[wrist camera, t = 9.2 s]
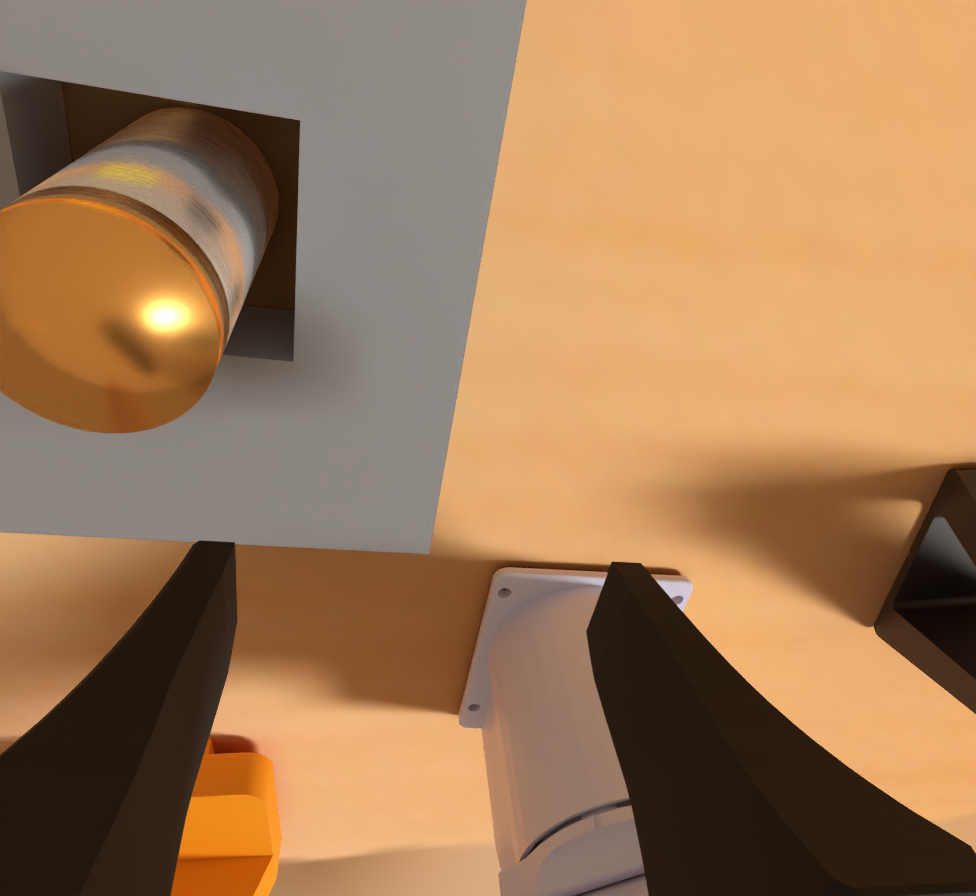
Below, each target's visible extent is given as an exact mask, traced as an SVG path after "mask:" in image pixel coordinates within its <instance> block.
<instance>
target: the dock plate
mask: <svg viewBox="0 0 976 896" xmlns="http://www.w3.org/2000/svg"><path fill="white" fill-rule="evenodd" d="M525 6H526V0H0V210H1V209H3V208H4V207H6V206H7V205H9V204H10V203H12V202H13V201H15V200H16V199H18V198H19V197H21V196H22V195H24V194H25V193H27V192H28V191H30V190H31V189H33V188H34V187H36V186H37V185H39V184H40V183H42V182H44V181H45V180H47V179H48V178H50V177H51V176H53V175H54V174H56V173H57V172H59V171H60V170H62V169H63V168H65V167H66V166H68V165H69V164H71V163H72V155H71V148H70V141H69V134H68V127H67V120H66V113H65V106H64V99H63V91H62V84H61V81H64V82H70V83H76V84H82V85H88V86H95V87H101V88H107V89H113V90H119V91H125V92H131V93H137V94H143V95H149V96H155V97H161V98H167V99H173V100H179V101H185V102H192V103H198V104H204V105H210V106H216V107H222V108H228V109H234V110H240V111H246V112H252V113H258V114H264V115H270V116H276V117H283V118H289V119H295V120H300V143H299V180H298V216H297V252H296V288H295V311H290V310H281V309H272V308H264V307H255V306H246V305H243V306H242V308H241V311H240V313H239V316H238V318H237V320H236V323H235V325H234V328H233V330H232V333H231V335H230V337H229V340H228V342H227V345H226V347H225V350H224V352H223V355H222V357H221V359H220V362H219V364H218V367H217V369H216V372H215V374H214V376H213V379H212V381H211V383H210V385H209V387H208V388H207V390H206V392H205V393H204V395H203V396H202V397H201V398H200V400H199V401H198V402H197V403H196V404H195V405H194V406H193V407H192V408H191V409H190V410H189V411H187V412H186V413H184V414H183V415H181V416H180V417H178V418H177V419H175V420H173V421H171V422H169V423H167V424H165V425H162V426H159V427H156V428H153V429H149V430H145V431H140V432H133V433H122V434H117V433H98V432H89V431H85V430H80V429H75V428H71V427H68V426H65V425H61V424H58V423H55V422H53V421H51V420H48V419H46V418H43V417H41V416H39V415H37V414H35V413H33V412H31V411H29V410H27V409H25V408H24V407H22V406H21V405H19V404H17V403H16V402H14V401H13V400H11V399H10V398H8V397H7V396H6V395H5V394H3V393H2V392H1V391H0V532H5V533H25V534H44V535H64V536H83V537H103V538H123V539H142V540H162V541H181V542H198V541H199V540H202V541H221V542H235V544H240V545H259V546H279V547H298V548H318V549H337V550H357V551H376V552H396V553H415V554H429V552H430V546H431V540H432V535H433V529H434V523H435V518H436V512H437V506H438V501H439V495H440V489H441V484H442V478H443V472H444V467H445V461H446V455H447V450H448V444H449V438H450V432H451V427H452V421H453V415H454V410H455V404H456V398H457V393H458V387H459V381H460V376H461V370H462V364H463V359H464V353H465V347H466V342H467V336H468V330H469V324H470V319H471V313H472V307H473V302H474V296H475V290H476V285H477V279H478V273H479V268H480V262H481V256H482V251H483V245H484V239H485V234H486V228H487V222H488V216H489V211H490V205H491V199H492V194H493V188H494V182H495V177H496V171H497V165H498V160H499V154H500V148H501V143H502V137H503V131H504V126H505V120H506V114H507V108H508V103H509V97H510V91H511V86H512V80H513V74H514V69H515V63H516V57H517V52H518V46H519V40H520V35H521V29H522V23H523V18H524V12H525Z"/></svg>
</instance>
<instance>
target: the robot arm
mask: <svg viewBox="0 0 976 896" xmlns="http://www.w3.org/2000/svg"><path fill="white" fill-rule="evenodd" d="M503 588H508V589H506V590H501V589H503ZM692 591H693V586H692V583H691V581H690V579H689V578H688V577H686V576H678V575H658V574H650V573H649V572H648V571H647V570H646V569H645V568H644V566H643V565H642V564H641V563H626V562H612V563H611V566H610V568H609V571H608V572H596V571H575V570H555V569H534V568H514V567H506V568H501V569H499V570H498V571H496V572H495V574H494V575H493V579H492V583H491V587H490V591H489V595H488V599H487V603H486V607H485V611H484V615H483V619H482V623H481V627H480V631H479V635H478V639H477V643H476V647H475V651H474V655H473V659H472V663H471V667H470V671H469V675H468V679H467V683H466V687H465V691H464V695H463V699H462V703H461V707H460V711H459V724H460V725H461V726H463V727H465V728H482V736H483V745H484V753H485V761H486V770H487V778H488V786H489V795H490V803H491V811H492V820H493V828H494V836H495V845H496V851H497V856H498V860H499V864H500V867H501V870H502V871H500V872H499V883H500V892H501V896H976V853H975V852H974V850H973V849H972V847H971V846H970V845H968V844H966V843H965V842H963V841H961V840H960V839H958V838H956V837H955V836H953V835H951V834H950V833H948V832H946V831H945V830H943V829H941V828H940V827H938V826H936V825H935V824H933V823H932V822H930V821H928V820H927V819H925V818H923V817H922V816H920V815H918V814H917V813H915V812H913V811H912V810H910V809H909V808H907V807H905V806H904V805H902V804H901V803H899V802H898V801H896V800H895V799H893V798H892V797H890V796H889V795H888V794H886V793H885V792H883V791H882V790H880V789H879V788H877V787H876V786H874V785H873V784H871V783H870V782H868V781H867V780H866V779H864V778H863V777H861V776H860V775H859V774H857V773H856V772H854V771H853V770H852V769H850V768H849V767H847V766H846V765H845V764H843V763H842V762H841V761H840V760H838V759H837V758H836V757H834V756H833V755H832V754H831V753H829V752H828V751H827V750H825V749H824V748H823V747H821V746H820V745H819V744H818V743H816V742H815V741H814V740H812V739H811V738H810V737H809V736H808V735H806V734H805V733H804V732H803V731H802V730H800V729H799V728H798V727H797V726H796V725H794V724H793V723H792V722H791V721H790V720H789V719H788V718H786V717H785V716H784V715H783V714H782V713H781V712H780V711H778V710H777V709H776V708H775V707H774V706H773V705H772V704H771V703H769V702H768V701H767V700H766V699H765V698H764V697H763V696H762V695H761V694H760V693H759V692H758V691H757V690H755V689H754V688H753V687H752V686H751V685H750V684H749V683H748V682H747V681H746V680H745V679H744V678H743V677H742V676H741V675H740V674H739V673H738V672H737V671H736V670H735V669H734V668H733V667H732V666H731V665H730V664H729V663H728V662H727V660H726V659H725V658H724V657H723V656H722V655H721V654H720V653H719V652H718V651H717V650H716V649H715V648H714V647H713V646H712V644H711V643H710V642H709V641H708V640H707V639H706V638H705V637H704V636H703V635H702V633H701V632H700V631H699V630H698V629H697V628H696V627H695V626H694V624H693V623H692V622H691V621H690V620H689V619H688V618H687V616H686V615H685V614H684V613H683V610H684V608H685V606H686V603H687V601H688V599H689V597H690V595H691V593H692ZM675 596H676V597H675ZM236 624H237V596H236V560H235V542H221V541H202V540H199V541H198V542H196V543H195V544H194V545H193V546H192V547H191V549H190V550H189V552H188V554H187V555H186V557H185V558H184V560H183V561H182V562H181V564H180V565H179V567H178V568H177V570H176V571H175V572H174V574H173V575H172V576H171V578H170V579H169V581H168V582H167V583H166V585H165V586H164V587H163V588H162V590H161V591H160V592H159V594H158V595H157V596H156V598H155V599H154V600H153V601H152V603H151V604H150V605H149V606H148V607H147V609H146V610H145V611H144V612H143V613H142V615H141V616H140V617H139V618H138V620H137V621H136V622H135V623H134V624H133V626H132V627H131V628H130V629H129V630H128V632H127V633H126V634H125V635H124V636H123V637H122V638H121V639H120V641H119V642H118V643H117V644H116V645H115V646H114V647H113V648H112V649H111V650H110V651H109V653H108V654H107V655H106V656H105V657H104V658H103V659H102V660H101V661H100V662H99V663H98V665H97V666H96V667H95V668H94V669H93V670H92V671H91V672H90V673H89V674H88V675H87V676H86V677H85V678H84V679H83V680H82V681H81V682H80V683H79V684H78V685H77V686H76V687H75V688H74V689H73V690H72V691H71V692H70V693H69V694H68V695H67V696H66V697H65V698H64V699H63V700H62V701H61V702H60V703H59V704H57V705H56V706H55V707H54V708H53V709H52V710H51V711H50V712H49V713H48V714H47V715H46V716H45V717H44V718H42V719H41V720H40V721H39V722H38V723H37V724H36V725H34V726H33V727H32V728H31V729H30V730H29V731H28V732H26V733H25V734H24V735H23V736H22V737H21V738H20V739H18V740H17V741H16V742H15V743H14V744H13V745H11V746H10V747H9V748H8V749H7V750H6V751H4V752H3V753H2V754H1V755H0V896H171V891H172V886H173V881H174V875H175V870H176V865H177V860H178V855H179V850H180V845H181V840H182V835H183V830H184V825H185V820H186V816H187V812H188V808H189V804H190V800H191V796H192V792H193V789H194V785H195V782H196V779H197V775H198V772H199V769H200V765H201V762H202V759H203V755H204V752H205V749H206V745H207V742H208V739H209V735H210V732H211V729H212V725H213V722H214V718H215V715H216V712H217V708H218V705H219V702H220V698H221V695H222V691H223V688H224V685H225V681H226V678H227V674H228V669H229V664H230V659H231V653H232V648H233V642H234V636H235V630H236Z"/></svg>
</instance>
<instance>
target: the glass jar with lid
mask: <svg viewBox="0 0 976 896" xmlns="http://www.w3.org/2000/svg"><path fill="white" fill-rule="evenodd" d="M278 205H279V202H278V191H277V186H276V182H275V179H274V176H273V173H272V171H271V169H270V166H269V164H268V162H267V161H266V159H265V157H264V156H263V154H262V152H261V151H260V150H259V149H258V147H257V146H256V145H255V143H254V142H253V141H252V140H251V139H250V138H249V137H248V136H247V135H246V134H245V133H243V132H242V131H241V130H240V129H239V128H237V127H236V126H235V125H233V124H231V123H230V122H228V121H227V120H225V119H223V118H221V117H219V116H217V115H215V114H212V113H209V112H206V111H203V110H199V109H194V108H187V107H169V108H164V109H159V110H156V111H153V112H150V113H147V114H146V115H144V116H142V117H140V118H139V119H137V120H136V121H134V122H133V123H131V124H130V125H128V126H127V127H125V128H124V129H122V130H120V131H119V132H117V133H116V134H114V135H113V136H111V137H110V138H108V139H107V140H105V141H104V142H102V143H101V144H99V145H98V146H96V147H95V148H93V149H92V150H90V151H89V152H87V153H86V154H84V155H83V156H81V157H80V158H78V159H77V160H75V161H74V162H72V163H71V164H69V165H68V166H66V167H65V168H63V169H62V170H60V171H59V172H57V173H56V174H54V175H53V176H51V177H50V178H48V179H47V180H45V181H44V182H42V183H40V184H39V185H37V186H36V187H34V188H33V189H31V190H30V191H28V192H27V193H25V194H24V195H22V196H21V197H19V198H18V199H16V200H15V201H13V202H12V203H10V204H9V205H7V206H6V207H4V208H3V209H1V210H0V391H1V392H2V393H3V394H5V395H6V396H7V397H8V398H10V399H11V400H13V401H14V402H16V403H17V404H19V405H21V406H22V407H24V408H25V409H27V410H29V411H31V412H33V413H35V414H37V415H39V416H41V417H43V418H46V419H48V420H51V421H53V422H55V423H58V424H61V425H65V426H68V427H71V428H75V429H80V430H85V431H89V432H98V433H117V434H122V433H133V432H140V431H145V430H149V429H153V428H156V427H159V426H162V425H165V424H167V423H169V422H171V421H173V420H175V419H177V418H178V417H180V416H181V415H183V414H184V413H186V412H187V411H189V410H190V409H191V408H192V407H193V406H194V405H195V404H196V403H197V402H198V401H199V400H200V398H201V397H202V396H203V395H204V393H205V392H206V390H207V388H208V387H209V385H210V383H211V381H212V379H213V376H214V374H215V372H216V369H217V367H218V364H219V362H220V359H221V357H222V355H223V352H224V350H225V347H226V345H227V342H228V340H229V337H230V335H231V333H232V330H233V328H234V325H235V323H236V320H237V318H238V316H239V313H240V311H241V308H242V306H243V303H244V301H245V299H246V296H247V294H248V291H249V289H250V286H251V284H252V281H253V279H254V277H255V274H256V272H257V269H258V267H259V264H260V262H261V260H262V257H263V255H264V252H265V250H266V247H267V245H268V243H269V240H270V238H271V235H272V233H273V230H274V227H275V225H276V221H277V216H278Z"/></svg>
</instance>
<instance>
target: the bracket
mask: <svg viewBox="0 0 976 896" xmlns="http://www.w3.org/2000/svg"><path fill="white" fill-rule="evenodd" d="M280 845H281V831H280V823H279V815H278V806H277V798H276V790H275V782H274V773H273V765H272V762H271V761H270V759H268V758H267V757H265V756H263V755H261V754H257V753H249V752H246V753H224V754H214V749H213V744H212V739H211V738H209V739H208V742H207V745H206V749H205V752H204V755H203V759H202V762H201V765H200V769H199V772H198V775H197V779H196V782H195V785H194V789H193V792H192V796H191V800H190V804H189V808H188V812H187V816H186V820H185V825H184V830H183V835H182V840H181V845H180V850H179V855H178V860H177V865H176V870H175V875H174V881H173V886H172V891H171V896H268V895H269V893H270V891H271V889H272V887H273V885H274V883H275V881H276V878H277V877H276V876H277V870H278V861H279V853H280Z"/></svg>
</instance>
